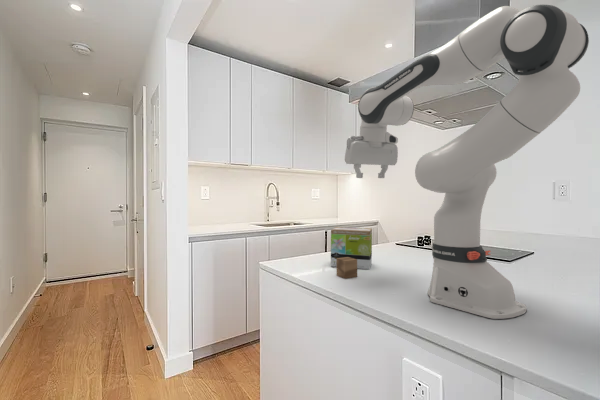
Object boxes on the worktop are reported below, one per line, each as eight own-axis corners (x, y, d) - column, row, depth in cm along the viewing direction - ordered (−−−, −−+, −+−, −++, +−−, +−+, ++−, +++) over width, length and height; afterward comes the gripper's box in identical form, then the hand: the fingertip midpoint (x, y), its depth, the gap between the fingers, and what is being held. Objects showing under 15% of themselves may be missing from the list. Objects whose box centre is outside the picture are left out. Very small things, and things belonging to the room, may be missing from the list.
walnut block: (357, 277, 105) (357, 259, 105) (345, 279, 103) (344, 261, 103) (348, 273, 110) (348, 256, 110) (336, 275, 107) (336, 258, 107)
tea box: (330, 267, 119) (330, 229, 119) (335, 262, 129) (334, 226, 129) (370, 269, 115) (370, 229, 115) (372, 264, 125) (372, 227, 124)
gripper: (353, 134, 98) (351, 178, 100) (401, 138, 107) (399, 178, 109) (341, 136, 104) (340, 177, 106) (389, 139, 113) (386, 177, 115)
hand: (370, 178), depth 107 cm, fingers open, 8 cm apart
